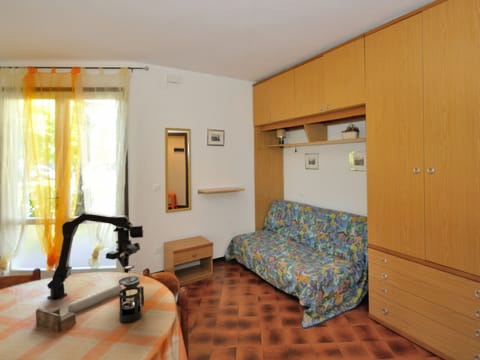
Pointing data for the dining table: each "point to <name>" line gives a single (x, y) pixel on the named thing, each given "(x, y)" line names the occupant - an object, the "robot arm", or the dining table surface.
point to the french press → (130, 304)
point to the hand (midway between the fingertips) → (124, 266)
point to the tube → (94, 298)
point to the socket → (54, 319)
